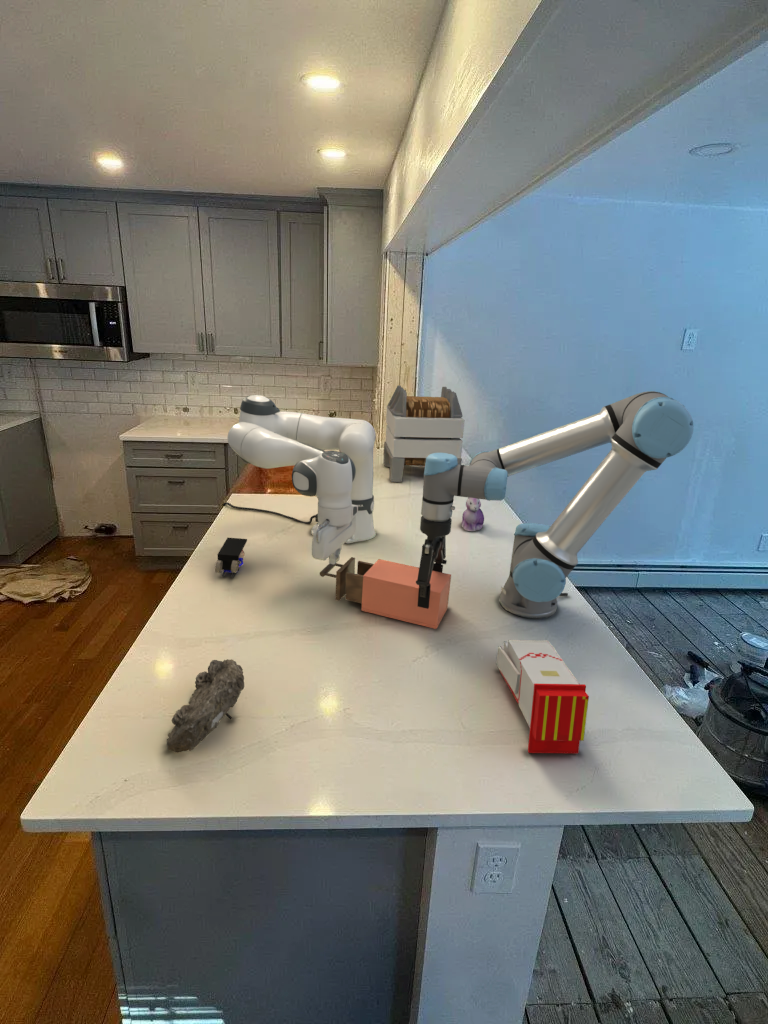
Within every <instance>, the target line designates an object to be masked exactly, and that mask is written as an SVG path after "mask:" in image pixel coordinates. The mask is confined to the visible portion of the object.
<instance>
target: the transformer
mask: <svg viewBox="0 0 768 1024" xmlns="http://www.w3.org/2000/svg"><path fill="white" fill-rule="evenodd" d="M440 393H441V394H440V396H415V395H414V396H413V395H412V396H411V395H407V394H408V393H407V390H406V389H404V388H403V387H402V385H399V384H398V385H397V386H396V388H395V390H394V392H393V394H392V395H391V398H390V400H389V402H388V404H387V405H386V413H385V414H386V415H385V423H386V428H385V438H384V442H383V466H384V467H388V468H389V475H388V476H389V477H388V478H389V480H390V482H391V483H402V482H403V475H404V469H405V466H406V467H407V466H411V467H412V466H413V467H415V466H416V467H417V466H418V467H425V463H426V458H427V457H428V455H430V454H433V453H447V454H452V455H455V456H456V457H457V462H458V464H460V465H462V461H463V460H462V453H463V442H464V441H463V440H462V439H463V438H464V431H465V430H464V429H465V419H464V418H463V411H462V408H461V405H460V402H459V398H458V395H457V392H455V391H453V390H452V389H451V388H447V386H442V387H441V392H440Z"/></svg>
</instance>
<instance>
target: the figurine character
mask: <svg viewBox="0 0 768 1024" xmlns="http://www.w3.org/2000/svg"><path fill="white" fill-rule="evenodd" d="M247 542H248V538H240V537H226V539H225V541H224V543H223V544H222V546H221V547H220V549H219V551H218V552H217V560H216V562H215V564H214V572H215V573H221V577H222V578H224V577H225V576H226V574H227V573H230V574H231V573H232V574H231V578H234V577H235V575H236V573H237V572H239V571H240V567H242V566H243V565H244V564H245V562H244V558H245V551H244V547H245V546H246V544H247Z"/></svg>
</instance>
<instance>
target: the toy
mask: <svg viewBox="0 0 768 1024" xmlns="http://www.w3.org/2000/svg"><path fill="white" fill-rule="evenodd" d="M502 646H503V647H502ZM502 646H501V645H498V648H497V654H496V661H495V665H496V666H497V668H498V670H499V672H500V674H501V676H502V678H503V680H504V681H505V683H506V685H507V687H508V689H509V691H510V692H511V694H512V696H513V697H514V699H515V701H516V703H517V704H518V707H519V709H520V711H521V713H522V715H523V718H524V720H525V722H526V723H527V726H528V728H529V734H528V744H527V745H528V746H527V752H528V754H579V751H580V744H581V743H580V742H583V741H584V740H585V730H586V724H587V715H588V707H589V698H590V696H589V694H588V693H587V692H586V690H587V684H581V683H580V682H579V681H578V679H577V678H576V676H574V674H573V673H572V671H571V670H570V668H569V667H568V666H567V664H566V663H565V662H564V660H563V659H562V657H561V656H560V655H559V653H558V652H557V651H556V649H555V647H554V645H552V644H551V642H550V641H549V640H533V639H532V640H528V639H526V640H525V639H508V640H507V641H503V645H502Z"/></svg>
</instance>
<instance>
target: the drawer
mask: <svg viewBox="0 0 768 1024" xmlns="http://www.w3.org/2000/svg"><path fill="white" fill-rule="evenodd" d="M374 564H375V563H371V562H368V561H362V560H358V561H357V569H356V557H353V556H350V558H348V560H346V562H344V563H343V564H341V563H338V562H336V563H335V564H334V565H333V564H330V563H328V564H327V565H326V566H325V567H324V568H322V569H321V570H320V571H319V576H320V577H322V578H324V577H325V576H326V577H329V578H335V592H334V593H335V596H334V597H335V598H334V599H335V601H341V599H342V598H343V597H344V596H345V597H344V600H346V601H348V602H349V601H350V602H354V603H358V604H361V605H362V590H363V575H364V574H365V573H366V572H367V571H368V570H369V569H370V568H371V567H372V566H373V565H374ZM335 567H339V568H338V569H337V570H336V571H335V574H333V573H330V571H332V570H333V569H334V568H335ZM356 571H357V572H356ZM355 572H356V573H355Z"/></svg>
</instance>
